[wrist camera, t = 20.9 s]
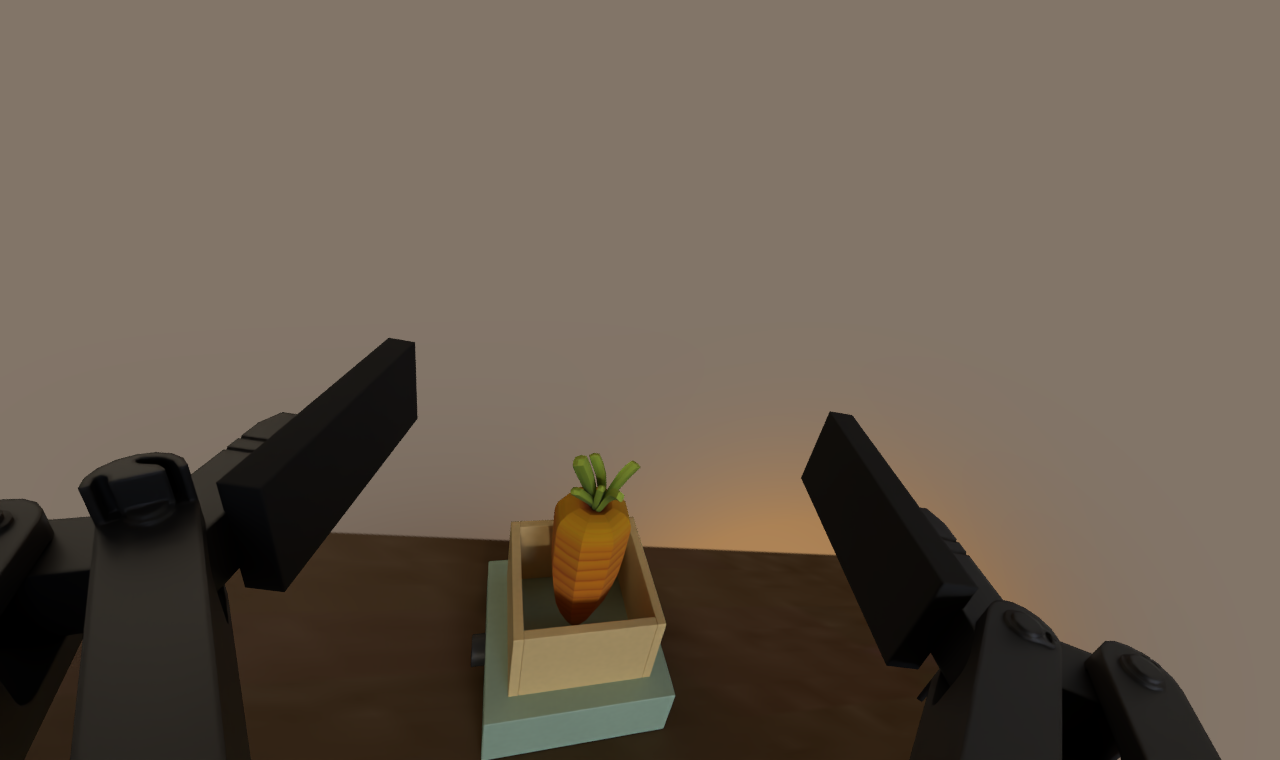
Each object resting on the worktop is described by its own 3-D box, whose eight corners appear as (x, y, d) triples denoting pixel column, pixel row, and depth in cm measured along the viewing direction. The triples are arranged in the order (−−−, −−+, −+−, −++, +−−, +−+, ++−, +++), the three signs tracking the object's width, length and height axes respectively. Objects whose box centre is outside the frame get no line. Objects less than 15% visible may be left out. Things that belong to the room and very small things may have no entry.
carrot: (614, 603, 37) (652, 443, 30) (597, 665, 32) (637, 494, 26) (552, 585, 37) (576, 423, 30) (527, 643, 33) (548, 469, 26)
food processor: (465, 764, 30) (468, 671, 25) (475, 595, 40) (478, 508, 35) (663, 728, 33) (695, 642, 29) (626, 583, 43) (646, 503, 39)
